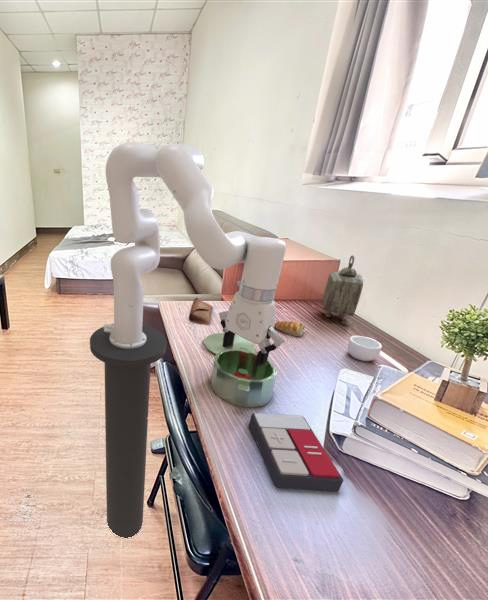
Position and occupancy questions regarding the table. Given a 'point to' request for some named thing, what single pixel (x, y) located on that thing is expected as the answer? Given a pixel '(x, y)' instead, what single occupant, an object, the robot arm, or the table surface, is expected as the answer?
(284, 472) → the calculator
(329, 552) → the table surface
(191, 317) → the sunglasses case
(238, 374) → the strawberry
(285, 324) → the pastry
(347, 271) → the tabletop clock
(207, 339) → the lid
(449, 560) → the table surface
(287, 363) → the table surface
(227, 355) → the tin
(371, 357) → the teacup
